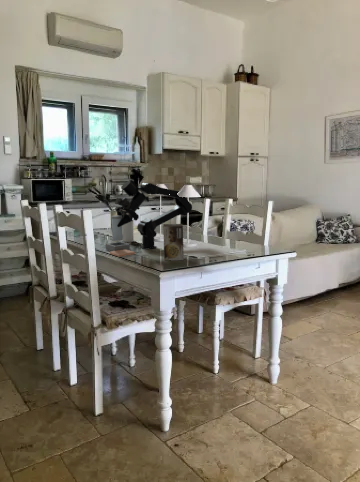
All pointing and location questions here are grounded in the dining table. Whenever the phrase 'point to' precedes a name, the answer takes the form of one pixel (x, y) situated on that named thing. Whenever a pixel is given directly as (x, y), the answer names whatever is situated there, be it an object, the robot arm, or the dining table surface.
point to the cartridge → (116, 228)
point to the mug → (127, 232)
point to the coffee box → (173, 241)
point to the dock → (119, 249)
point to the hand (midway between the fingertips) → (115, 225)
